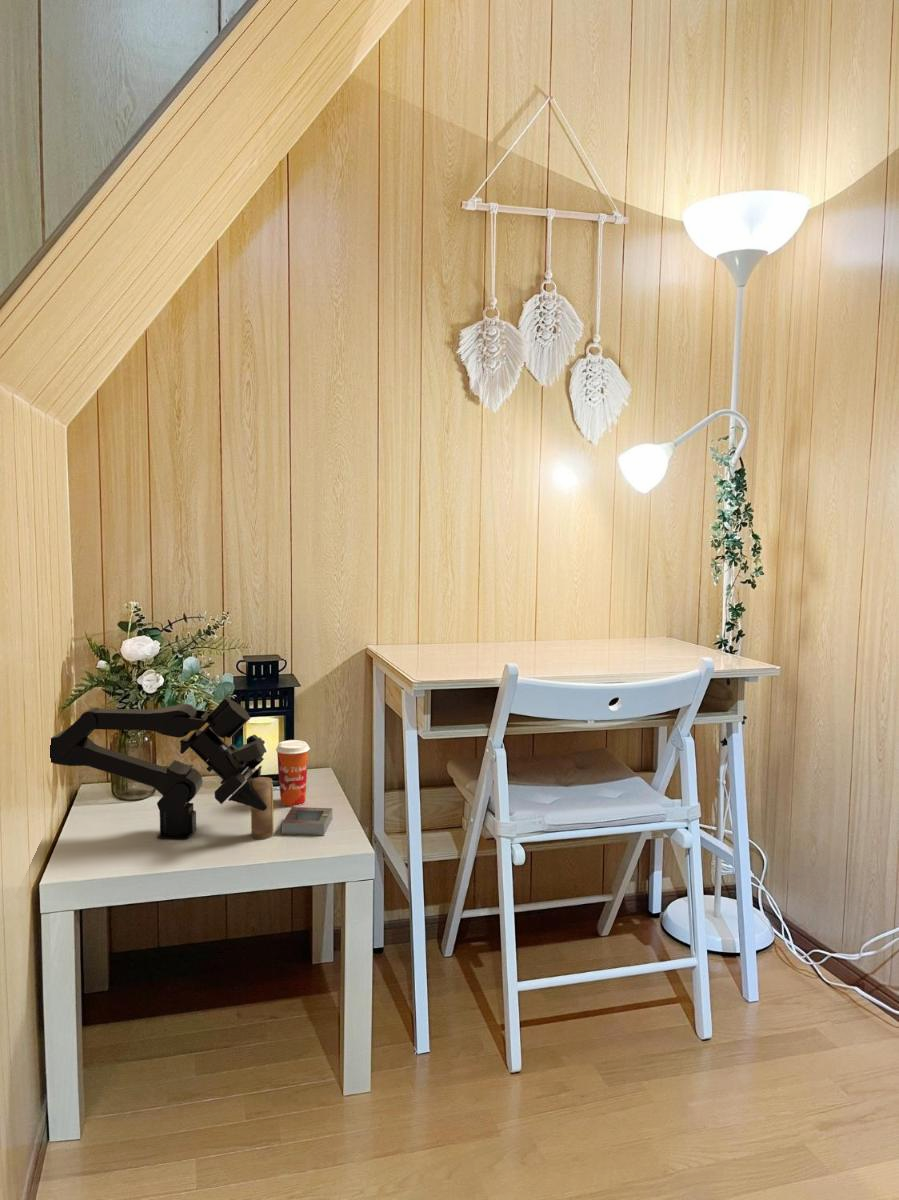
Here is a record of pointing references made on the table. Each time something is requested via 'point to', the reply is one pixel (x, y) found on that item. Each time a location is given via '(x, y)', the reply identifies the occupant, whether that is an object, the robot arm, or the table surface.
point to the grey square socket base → (307, 821)
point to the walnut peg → (259, 818)
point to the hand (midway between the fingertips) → (268, 805)
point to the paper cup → (292, 771)
